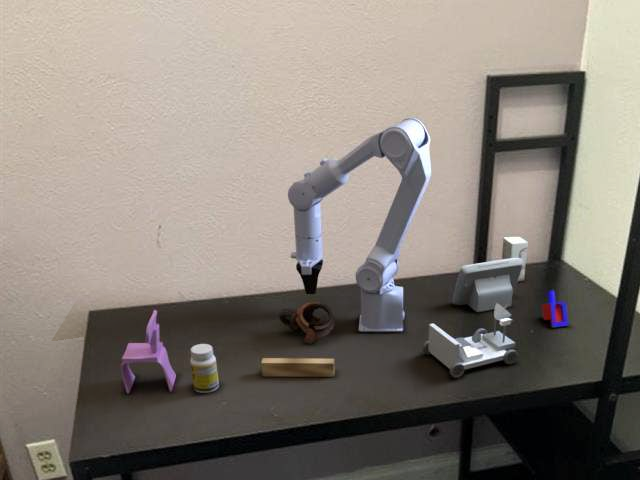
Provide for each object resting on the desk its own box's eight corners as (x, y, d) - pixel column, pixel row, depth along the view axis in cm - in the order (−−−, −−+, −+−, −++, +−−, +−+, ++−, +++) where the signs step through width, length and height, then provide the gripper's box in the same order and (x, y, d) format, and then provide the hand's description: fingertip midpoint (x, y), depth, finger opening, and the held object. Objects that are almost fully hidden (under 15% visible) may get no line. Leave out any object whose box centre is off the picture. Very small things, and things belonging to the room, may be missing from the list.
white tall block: (524, 281, 192) (528, 242, 187) (508, 283, 191) (511, 244, 186) (515, 273, 197) (519, 235, 192) (499, 275, 196) (502, 237, 191)
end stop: (334, 371, 153) (334, 358, 152) (334, 376, 152) (333, 363, 150) (263, 371, 154) (262, 358, 152) (262, 376, 152) (261, 362, 151)
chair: (131, 374, 153) (118, 304, 145) (177, 372, 153) (166, 302, 146) (123, 396, 146) (109, 323, 138) (170, 394, 146) (159, 321, 139)
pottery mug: (331, 324, 173) (339, 301, 166) (326, 358, 168) (334, 337, 161) (278, 312, 171) (283, 289, 165) (271, 347, 166) (277, 324, 159)
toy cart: (499, 294, 161) (532, 315, 152) (495, 337, 166) (528, 360, 157) (423, 310, 154) (453, 334, 145) (421, 354, 159) (451, 379, 150)
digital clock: (513, 293, 186) (517, 251, 181) (526, 309, 178) (530, 265, 173) (447, 298, 184) (449, 255, 178) (457, 314, 176) (459, 270, 171)
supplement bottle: (195, 381, 150) (190, 343, 146) (220, 380, 151) (215, 341, 146) (192, 394, 146) (187, 354, 142) (218, 393, 147) (213, 353, 142)
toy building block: (559, 326, 174) (555, 290, 173) (568, 325, 170) (564, 288, 169) (544, 328, 173) (540, 292, 173) (553, 327, 169) (549, 290, 169)
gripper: (293, 223, 174) (296, 280, 181) (285, 246, 162) (289, 306, 169) (325, 223, 174) (327, 280, 181) (319, 246, 162) (321, 306, 168)
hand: (311, 292), depth 175 cm, fingers closed
